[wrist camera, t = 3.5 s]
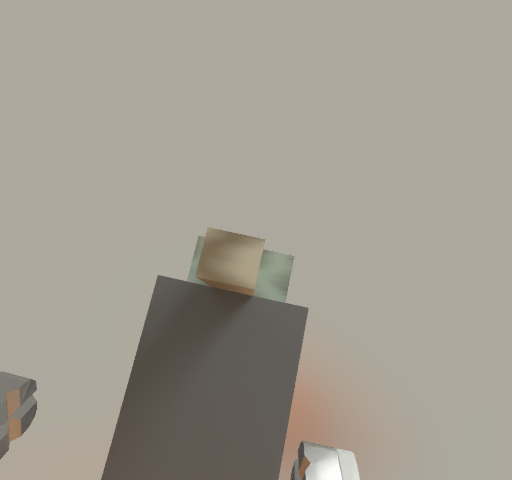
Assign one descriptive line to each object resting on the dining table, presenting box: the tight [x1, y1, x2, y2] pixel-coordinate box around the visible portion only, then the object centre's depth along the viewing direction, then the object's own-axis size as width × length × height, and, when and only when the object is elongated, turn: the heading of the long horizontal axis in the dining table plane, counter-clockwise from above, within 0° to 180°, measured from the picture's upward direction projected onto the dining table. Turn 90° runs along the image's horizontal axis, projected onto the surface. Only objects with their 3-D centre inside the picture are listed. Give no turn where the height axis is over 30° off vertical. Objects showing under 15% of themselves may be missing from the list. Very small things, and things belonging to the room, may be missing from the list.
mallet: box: [187, 228, 294, 303], centre depth 29 cm, size 10×20×5 cm, turn 1°
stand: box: [101, 275, 308, 480], centre depth 31 cm, size 13×12×26 cm
